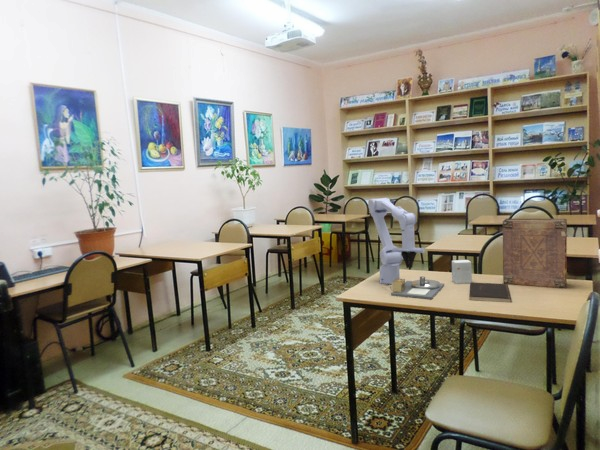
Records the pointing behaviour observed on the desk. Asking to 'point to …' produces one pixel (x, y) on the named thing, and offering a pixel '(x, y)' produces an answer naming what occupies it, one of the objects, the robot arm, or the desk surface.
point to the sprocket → (425, 284)
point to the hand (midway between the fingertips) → (409, 267)
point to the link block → (398, 285)
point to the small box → (461, 271)
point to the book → (535, 252)
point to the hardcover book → (489, 292)
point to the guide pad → (419, 291)
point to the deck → (428, 296)
